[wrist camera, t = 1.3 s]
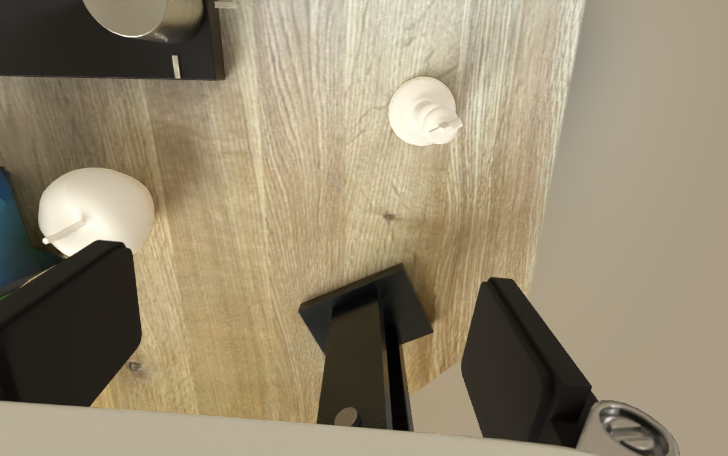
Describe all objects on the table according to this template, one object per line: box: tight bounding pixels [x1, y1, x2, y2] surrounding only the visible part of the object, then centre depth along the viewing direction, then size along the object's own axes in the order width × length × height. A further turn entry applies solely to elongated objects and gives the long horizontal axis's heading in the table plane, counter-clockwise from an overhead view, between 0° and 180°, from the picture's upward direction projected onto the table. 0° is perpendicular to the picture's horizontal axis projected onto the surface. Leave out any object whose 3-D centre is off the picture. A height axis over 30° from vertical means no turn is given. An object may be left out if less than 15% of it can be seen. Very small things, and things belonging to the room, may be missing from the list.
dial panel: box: [0, 0, 238, 80], centre depth 26 cm, size 18×9×2 cm, turn 89°
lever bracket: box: [298, 263, 434, 432], centre depth 28 cm, size 10×7×16 cm
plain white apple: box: [38, 168, 154, 256], centre depth 28 cm, size 7×7×8 cm
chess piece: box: [389, 77, 463, 146], centre depth 25 cm, size 5×5×10 cm
